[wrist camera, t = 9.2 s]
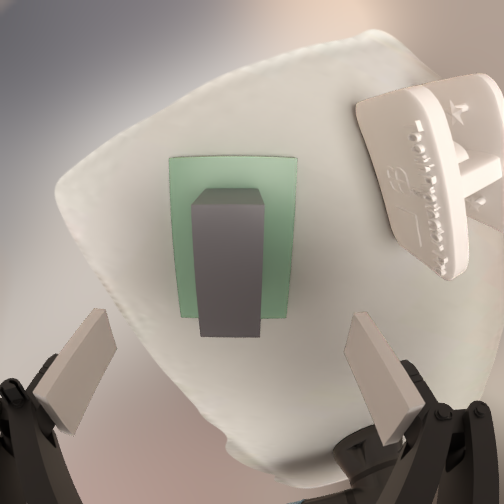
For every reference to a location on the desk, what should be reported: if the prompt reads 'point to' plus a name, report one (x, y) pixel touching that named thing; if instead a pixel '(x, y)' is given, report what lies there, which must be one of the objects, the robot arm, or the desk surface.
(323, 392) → the desk surface
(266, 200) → the board
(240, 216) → the block
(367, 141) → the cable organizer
